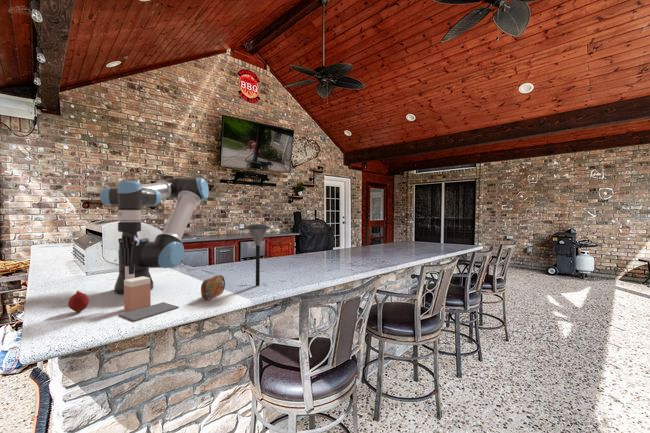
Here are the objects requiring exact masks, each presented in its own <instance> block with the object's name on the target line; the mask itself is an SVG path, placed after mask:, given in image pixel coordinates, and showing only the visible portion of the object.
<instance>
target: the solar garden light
mask: <svg viewBox="0 0 650 433" xmlns="http://www.w3.org/2000/svg"><path fill="white" fill-rule="evenodd" d="M244 229H246V230H248V231H249V233H250V236H251V238H252V240H253V243H254V244H255V287H260V285H261V283H260V282H261V281H260V280H261V278H260V277H261V275H260V273H261V272H260V271H261V270H260V269H261V267H260V264H261V262H260V261H261V260H260V259H261V251H260V250H261V247H260V246H261V243H262V241H263V239H264V238H265V237H264V236H266V235H265V234H266V232H267V230H270V229H271V227H270V226H268V225H266V224H264V223H263V224H262V223H261V224H260V223H257V224H256V223H255V224H250V225H248V226H246V227H245V228H244Z"/></svg>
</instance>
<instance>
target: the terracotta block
mask: <svg viewBox="0 0 650 433" xmlns="http://www.w3.org/2000/svg"><path fill="white" fill-rule="evenodd" d="M123 301H124V302H123V308H124V309H123V310H126V311H127V312H130V311H133V310H137V309H140V308H144V307H148V306H151V305H152V304H151V303H152V302H151V290H150V278H148V277H144V276H142V277H137V278H132V279H126V280H124V294H123Z"/></svg>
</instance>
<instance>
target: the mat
mask: <svg viewBox="0 0 650 433" xmlns="http://www.w3.org/2000/svg"><path fill="white" fill-rule="evenodd" d="M179 308H180V307H179V306H177V305H174V304H171V303H167V302H164V301H163V302H159V303H155V304H151V306H148V307H144V308H140V309H137V310H133V311H126V312H123V313H119V314H118V316H119V317H121V318H123V319H127V320H129V321H131V322H137V321H141V320H145V319H148V318H151V317H154V316H157V315H161V314H163V313H167V312H170V311H173V310H177V309H179Z"/></svg>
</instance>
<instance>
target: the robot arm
mask: <svg viewBox="0 0 650 433" xmlns="http://www.w3.org/2000/svg"><path fill="white" fill-rule="evenodd" d="M209 189H210V188H209V185H208V182H207V180H206V179H204V178H203V177H172V178H167V179H161V180H157V181H156V182H153V183H146V184H142V183H141V182H140V181H135V180H120V181H118V183H117V187H105V188H103V189H101V190H100V193H99V200H100V202H101V203H102V204H103V205H105V206H111V207H114V206H115V207H117V213H116V216H117V220H118V223H117V231H118V232H119V233H121V238H118V250H117V253H118V276H117V280H115V281H116V282H115V285H114V294H117V295H118V294H120V295H124V280H126V279H132V278H137V277H142V276H144V277H148V278H150V291H151V290H153V288H154V281H153V278H152V275H151V273H150V268H155V269H156V268H161V269H168V268H169V269H171V268H175V267H178V265H180V263H181V262H182V261H183V258H184V255H185V254H184V252H185V247H184V245H183V242H182V238H183V235H184V234H185V231H186V229H187V227H188V224H189V222H190V219H191V218H192V215H193V212H194V211H195V208H196V207H197V206H199V205H200V204H201V203H202V200H203V201H204V200H207V199H208V198H209V195H210V193H209V192H210V190H209ZM164 199H176V200H177V202H176V204H175V206H174V209H173V210H172V213H171V215H170V217H169V219H168V221H167V223H166V225H165V227H164V228H163V231H162V233H159V234H157V236H155V239H154V241H150V239H149V238H148V237H144V238H139V236H138V232H141V231H142V222H141V220H142V207H151V208H152V207H156V206H158V205H159V204H160V203H161V201H162V200H164Z"/></svg>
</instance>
